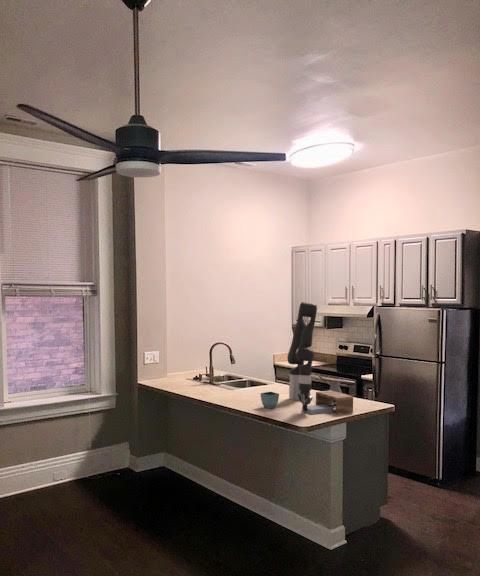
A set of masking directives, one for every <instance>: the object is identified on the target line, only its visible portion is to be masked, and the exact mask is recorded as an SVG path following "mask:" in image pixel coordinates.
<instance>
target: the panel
mask: <svg viewBox="0 0 480 576" xmlns="http://www.w3.org/2000/svg"><path fill="white" fill-rule="evenodd" d="M301 411H302V412H304V413H307V414H309V415H316V414H326V412H327V413H332V412H334V407H330V406H327V405H324V404H321V405H316V404H314V405H307V411H303V406H302V407H301Z"/></svg>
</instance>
